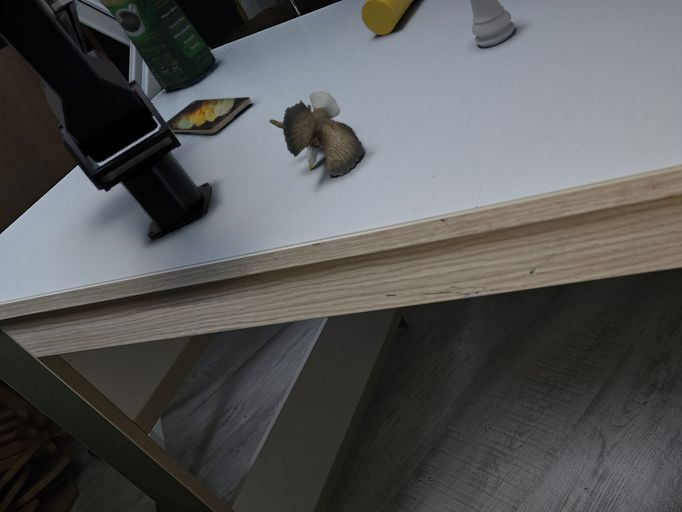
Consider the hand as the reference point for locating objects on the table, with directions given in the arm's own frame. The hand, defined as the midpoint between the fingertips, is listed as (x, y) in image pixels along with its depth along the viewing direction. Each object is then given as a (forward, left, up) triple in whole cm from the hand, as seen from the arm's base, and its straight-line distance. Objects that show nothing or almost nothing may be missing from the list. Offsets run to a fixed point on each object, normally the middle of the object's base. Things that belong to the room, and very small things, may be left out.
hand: (91, 85), depth 73 cm
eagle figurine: (-16, -21, -12) cm, 29 cm away
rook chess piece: (-6, -41, -12) cm, 43 cm away
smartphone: (+14, -4, -12) cm, 19 cm away
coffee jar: (+37, +1, -12) cm, 39 cm away
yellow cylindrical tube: (+12, -30, -10) cm, 34 cm away
